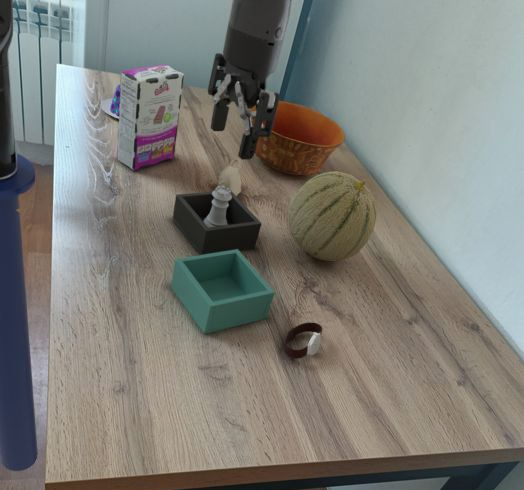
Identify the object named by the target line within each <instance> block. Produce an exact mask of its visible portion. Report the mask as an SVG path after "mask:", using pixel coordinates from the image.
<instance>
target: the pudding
mask: <svg viewBox="0 0 524 490" xmlns="http://www.w3.org/2000/svg"><path fill="white" fill-rule="evenodd" d="M119 107H120V84H117V86H116V88H115V91H114V94H113V97H108V98H105V99H103V100H102V101H101V102H100V108H101V110H102V111H103V112H104V113H106V114H107V115H109V116H111V117H112V118H115V119H118V120H119Z"/></svg>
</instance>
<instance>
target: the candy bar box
mask: <svg viewBox="0 0 524 490" xmlns="http://www.w3.org/2000/svg"><path fill="white" fill-rule="evenodd" d="M184 77H185V73H183V72H181V71H179V70H178V69H176V68H174V67H172V66H171V65H168V64H160V65H153V66H147V67H140V68H133V69H127V70H121V71H120V84H119V85H120V107H119V119H118V131H117V133H118V135H117V152H116V153H117V157H116V160H117V161H118V162H119V163H121V164H122V165H124V166H125V167H128V168H129V169H130V170H131V171H133V172H134V171H138V170H142V169H145V168H147V167H151V166H154V165H157V164H160V163H164V162H166V161H169V160H173V159H174V158H175V152H176V144H177V138H178V137H177V135H178V127H179V119H180V113H181V112H180V111H181V103H182V94H183V87H184V79H185V78H184Z"/></svg>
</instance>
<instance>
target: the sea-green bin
mask: <svg viewBox="0 0 524 490" xmlns="http://www.w3.org/2000/svg"><path fill="white" fill-rule="evenodd" d="M170 283H171V284H170V289H172V291H173V292H174V294H175V295H176V296H177V298H178V299H179V301H180V302H181V303H182V305H183V306H184V308H185V309H186V310H187V312H188V313H189V315H190V316H191V318H192V319H193V320H194V322H195V323H196V324H197V326H198V328H199V329H200V330H201V332H202V333H203V334H204V335H207V334H210V333H214V332H218V331H222V330H226V329H230V328H233V327H239V326H242V325H246V324H250V323H254V322H258V321H262V320H266V319H267V318H268V315H269V313H270V309H271V306H272V304H273V303H272V302H273V299H274V297H275V294H276V292H275V291H274V290H273V288H272V287H271V286H270V285H269V283H268V282H267V281H266V280H265V279H264V278H263V276H261V274H260V273H259V272H258V271H257V270H256V268H255V267H254V266H253V265H252V263H250V262H249V260H248V259H247V258H246V257H245V256H244V255H243V254H242V251H239V250H238V249H236V250H230V251H223V252H217V253H211V254H204V255H199V254H198V255H192V256H185V257H180V258H175V259H174V264H173V270H172V277H171V282H170Z"/></svg>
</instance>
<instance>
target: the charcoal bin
mask: <svg viewBox="0 0 524 490" xmlns="http://www.w3.org/2000/svg"><path fill="white" fill-rule="evenodd" d="M213 191H214V190H212V191H201V192H200V191H199V192H190V193H189V192H188V193H179V194H175V200H174V207H173V213H172V220H171V221H172V223H173V224H174V225H175V227H176V228H177V229H178V231H180V233H181V235H183V236H184V238H185V240H187V242H188V243H189V244H190V245H191V247H192V248H193V249H194V251H195V252H196V253H197V254H198V255H204V254H211V253H217V252H223V251H230V250H236V249H238V250H239V251H240V252H243V251H248V250H250V251H251V250H254V249H256V245H257V242H258V239H259V236H260V232H261V228H262V222H261V221H260V220H259V219H258V218H257V216H255V215H254V213H253V212H252V211H251V210H250V209H249V208H248V207H247V206H246V205H245V203H244V202H242V200H241V199H239V197H238V195H237V196H236V195H235V194H234V193H233V192H232V191H231V190H229V191H231V193H230V194H231V196H232V199H231V200H229V201H228V204H229V206H228V207H227V209H226V220H227V224H228V225H224V226H216V227H209V228H208V227H207V226H206V224H205V223H204V222H203V221H204V219H205V218H206V217H207V216H208V215H209V213H210V211H211V208H212V205H213V204H212V200H213V199H214V197H213V195H212V192H213Z"/></svg>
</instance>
